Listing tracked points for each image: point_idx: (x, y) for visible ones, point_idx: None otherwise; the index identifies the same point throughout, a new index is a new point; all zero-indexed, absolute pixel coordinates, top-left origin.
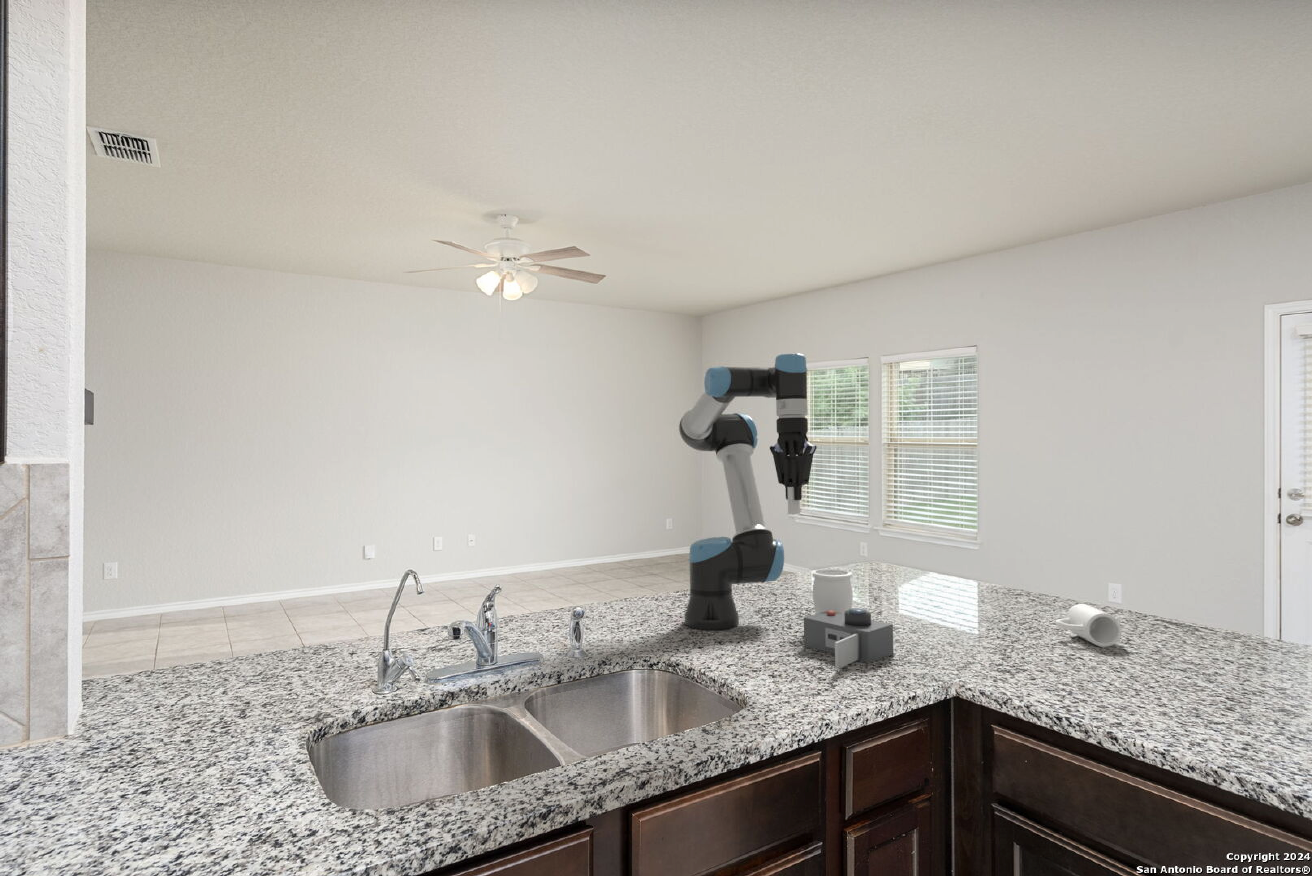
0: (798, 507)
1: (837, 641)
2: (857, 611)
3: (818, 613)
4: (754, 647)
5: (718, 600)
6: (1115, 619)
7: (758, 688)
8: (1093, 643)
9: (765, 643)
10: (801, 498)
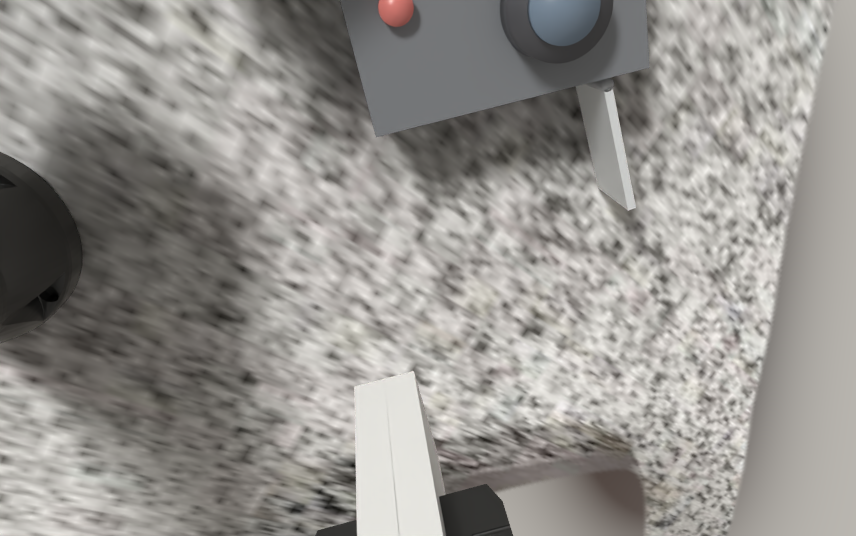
0: (426, 427)
1: (625, 197)
2: (580, 25)
3: (352, 42)
4: (313, 256)
5: (6, 294)
6: None
7: (573, 389)
8: None
9: (290, 206)
10: (498, 497)
